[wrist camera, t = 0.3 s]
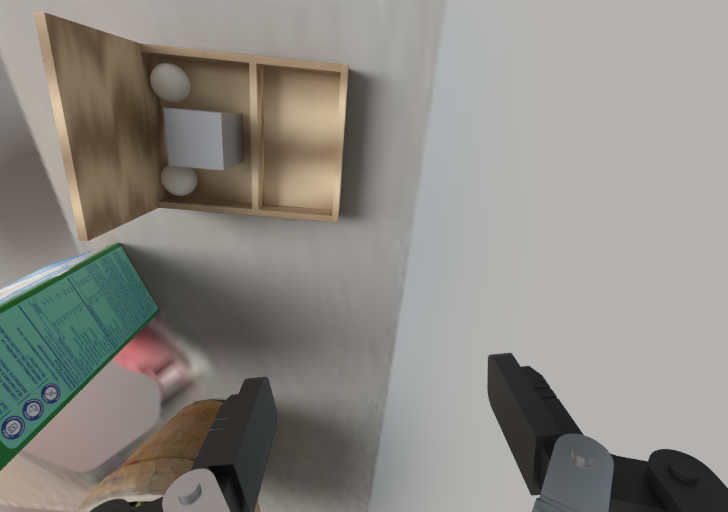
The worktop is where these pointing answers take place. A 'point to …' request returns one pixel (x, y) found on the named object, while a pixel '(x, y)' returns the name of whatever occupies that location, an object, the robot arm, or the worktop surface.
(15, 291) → the milk carton
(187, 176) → the pebble
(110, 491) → the potted plant
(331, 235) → the worktop surface
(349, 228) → the worktop surface
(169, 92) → the pebble
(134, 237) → the worktop surface
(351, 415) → the worktop surface
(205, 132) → the gray rectangular block
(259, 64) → the divided box
